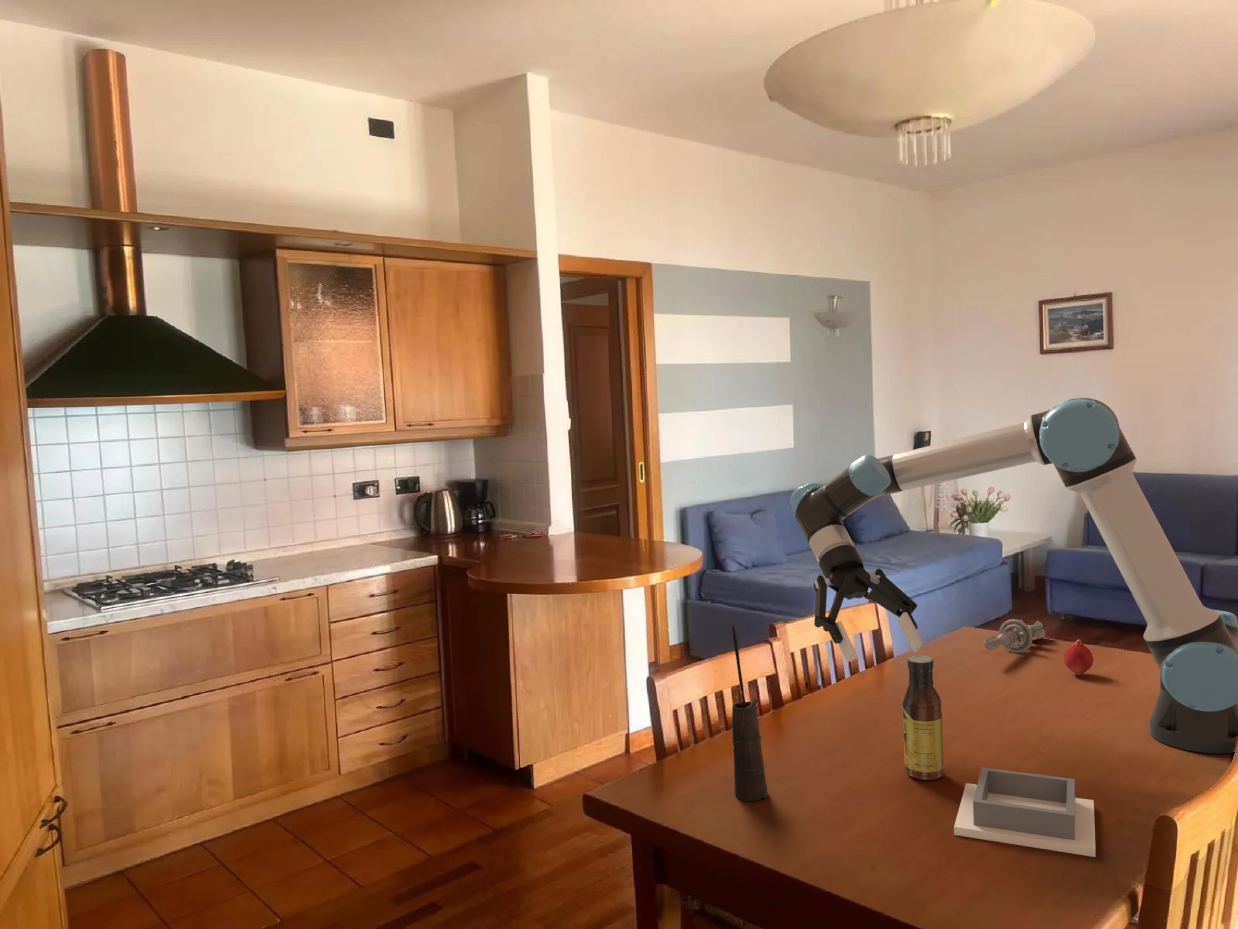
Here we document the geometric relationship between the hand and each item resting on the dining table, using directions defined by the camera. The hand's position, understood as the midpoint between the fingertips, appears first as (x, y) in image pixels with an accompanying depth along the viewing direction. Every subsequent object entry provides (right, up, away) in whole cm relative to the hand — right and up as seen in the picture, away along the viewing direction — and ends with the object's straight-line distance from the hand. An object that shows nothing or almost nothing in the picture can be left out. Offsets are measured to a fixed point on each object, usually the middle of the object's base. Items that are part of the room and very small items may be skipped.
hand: (885, 652), depth 161 cm
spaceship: (+48, -12, +60) cm, 78 cm away
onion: (+54, -13, +40) cm, 68 cm away
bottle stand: (+13, -20, -25) cm, 35 cm away
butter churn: (-24, -21, -11) cm, 34 cm away
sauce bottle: (+4, -19, -8) cm, 21 cm away
